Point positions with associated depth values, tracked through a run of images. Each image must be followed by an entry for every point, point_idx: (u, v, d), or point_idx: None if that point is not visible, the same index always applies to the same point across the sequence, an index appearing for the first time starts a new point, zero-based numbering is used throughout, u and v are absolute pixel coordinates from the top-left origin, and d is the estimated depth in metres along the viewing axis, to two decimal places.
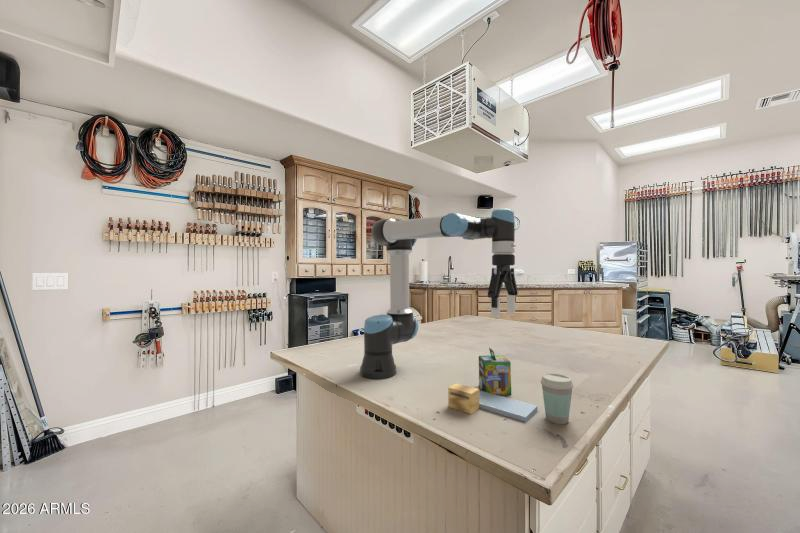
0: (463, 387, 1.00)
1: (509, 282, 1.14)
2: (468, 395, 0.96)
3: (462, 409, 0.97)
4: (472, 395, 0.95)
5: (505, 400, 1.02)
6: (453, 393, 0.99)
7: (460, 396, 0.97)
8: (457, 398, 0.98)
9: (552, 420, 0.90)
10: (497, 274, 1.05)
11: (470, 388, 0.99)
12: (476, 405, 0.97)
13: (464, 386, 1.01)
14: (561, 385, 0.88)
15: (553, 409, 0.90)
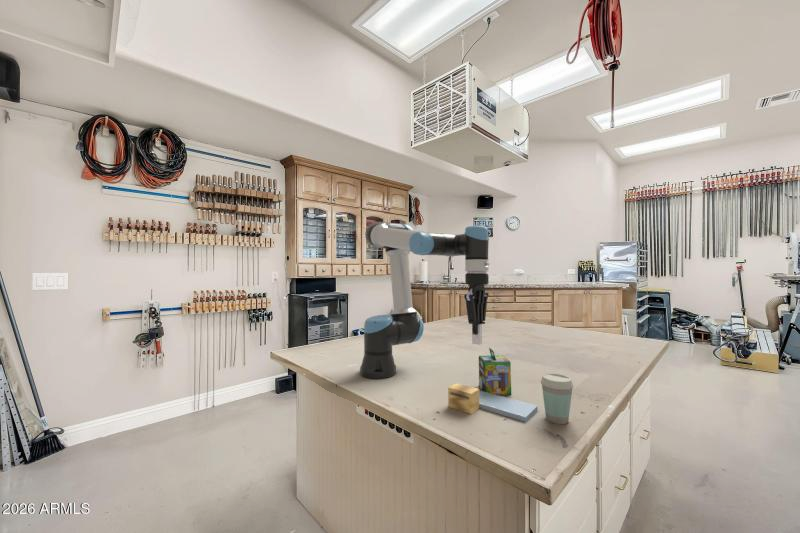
0: (463, 387, 1.00)
1: (480, 304, 1.07)
2: (468, 395, 0.96)
3: (462, 409, 0.97)
4: (472, 395, 0.95)
5: (505, 400, 1.02)
6: (453, 393, 0.99)
7: (460, 396, 0.97)
8: (457, 398, 0.98)
9: (552, 420, 0.90)
10: (471, 301, 1.02)
11: (470, 388, 0.99)
12: (476, 405, 0.97)
13: (464, 386, 1.01)
14: (561, 385, 0.88)
15: (553, 409, 0.90)
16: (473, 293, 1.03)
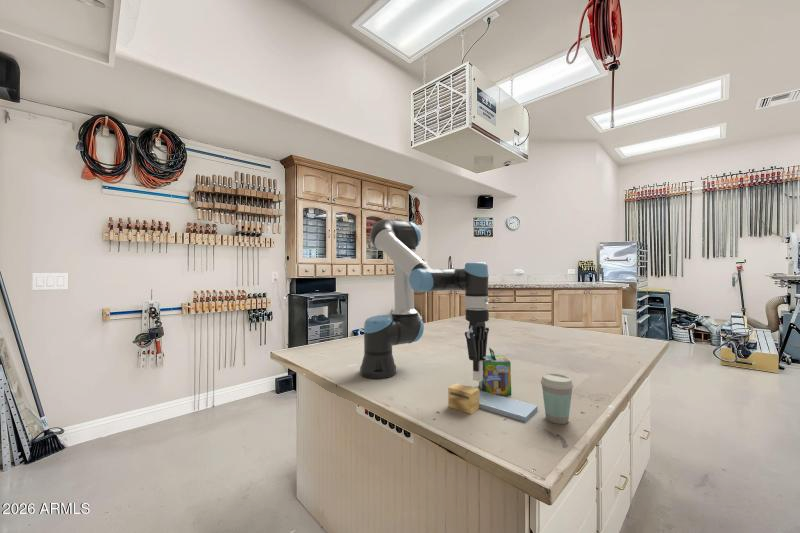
0: (463, 387, 1.00)
1: (480, 340, 1.06)
2: (468, 395, 0.96)
3: (462, 409, 0.97)
4: (472, 395, 0.95)
5: (505, 400, 1.02)
6: (453, 393, 0.99)
7: (460, 396, 0.97)
8: (457, 398, 0.98)
9: (552, 420, 0.90)
10: (471, 339, 1.02)
11: (470, 388, 0.99)
12: (476, 405, 0.97)
13: (464, 386, 1.01)
14: (561, 385, 0.88)
15: (553, 409, 0.90)
16: (473, 330, 1.03)
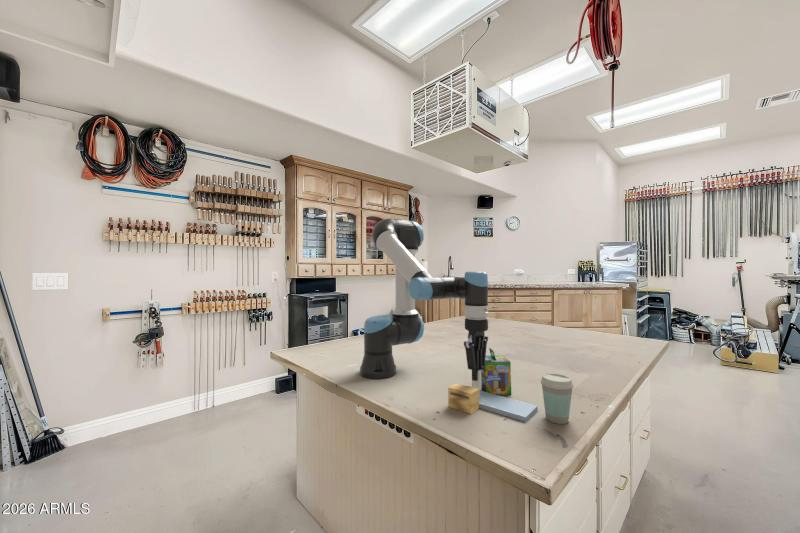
0: (463, 387, 1.00)
1: (479, 349, 1.06)
2: (468, 395, 0.96)
3: (462, 409, 0.97)
4: (472, 395, 0.95)
5: (505, 400, 1.02)
6: (453, 393, 0.99)
7: (460, 396, 0.97)
8: (457, 398, 0.98)
9: (552, 420, 0.90)
10: (471, 349, 1.01)
11: (470, 388, 0.99)
12: (476, 405, 0.97)
13: (464, 386, 1.01)
14: (561, 385, 0.88)
15: (553, 409, 0.90)
16: (473, 340, 1.03)
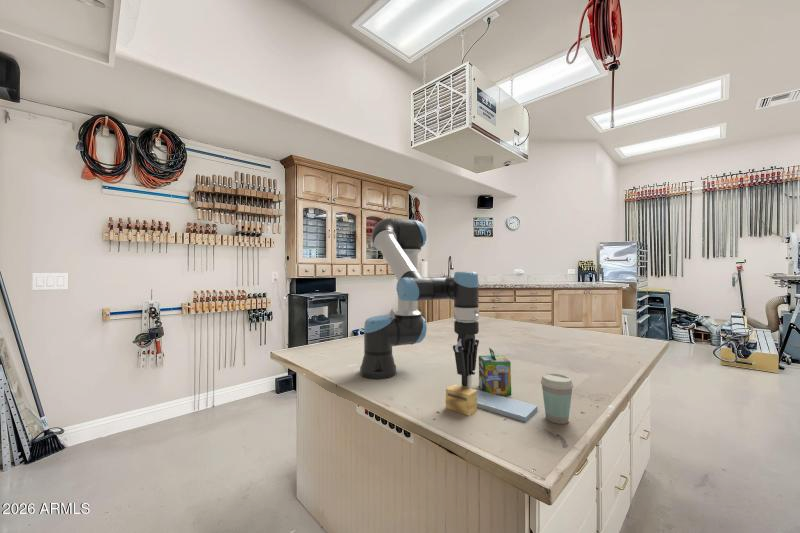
0: (461, 388, 0.99)
1: (469, 353, 1.01)
2: (465, 397, 0.95)
3: (460, 411, 0.96)
4: (469, 396, 0.94)
5: (505, 400, 1.02)
6: (451, 394, 0.98)
7: (457, 398, 0.96)
8: (455, 400, 0.97)
9: (552, 420, 0.90)
10: (460, 353, 0.96)
11: (468, 389, 0.98)
12: (474, 407, 0.96)
13: (462, 387, 1.00)
14: (561, 385, 0.88)
15: (553, 409, 0.90)
16: (462, 344, 0.98)
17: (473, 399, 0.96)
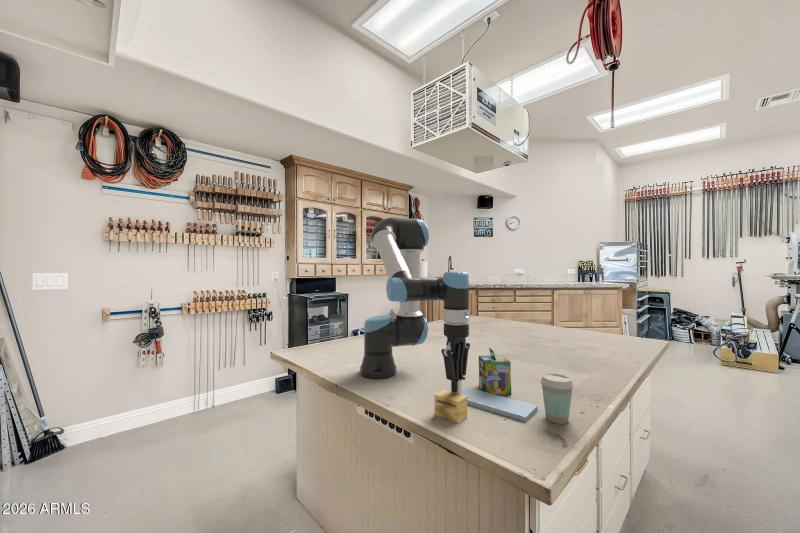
0: (450, 394, 0.94)
1: (459, 358, 0.96)
2: (454, 403, 0.90)
3: (449, 418, 0.91)
4: (459, 403, 0.90)
5: (505, 400, 1.02)
6: (440, 400, 0.93)
7: (446, 404, 0.92)
8: (444, 406, 0.92)
9: (552, 420, 0.90)
10: (449, 357, 0.92)
11: (457, 395, 0.94)
12: (463, 414, 0.92)
13: (451, 393, 0.95)
14: (561, 385, 0.88)
15: (553, 409, 0.90)
16: (451, 347, 0.93)
17: (463, 406, 0.91)
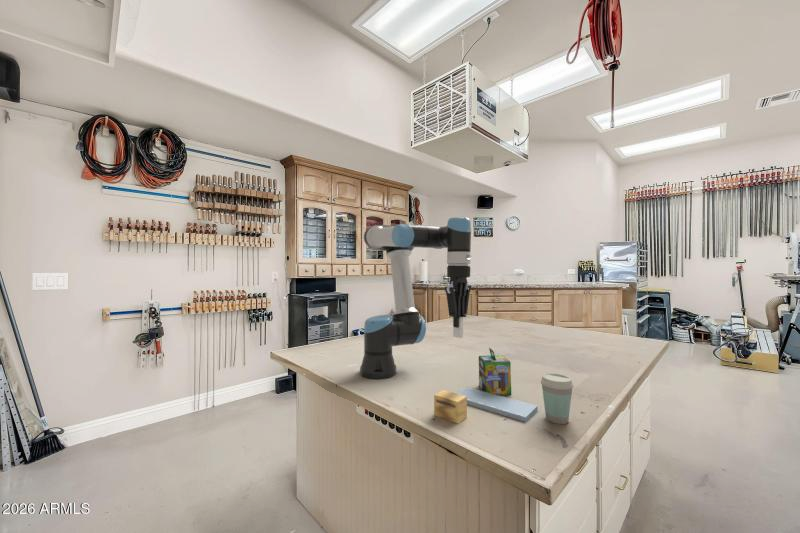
0: (450, 394, 0.94)
1: (461, 297, 1.05)
2: (454, 403, 0.90)
3: (448, 418, 0.91)
4: (458, 403, 0.89)
5: (505, 400, 1.02)
6: (439, 400, 0.93)
7: (446, 405, 0.91)
8: (444, 406, 0.92)
9: (552, 420, 0.90)
10: (451, 294, 1.01)
11: (457, 395, 0.93)
12: (463, 414, 0.91)
13: (451, 393, 0.95)
14: (561, 385, 0.88)
15: (553, 409, 0.90)
16: (454, 286, 1.02)
17: (462, 406, 0.91)
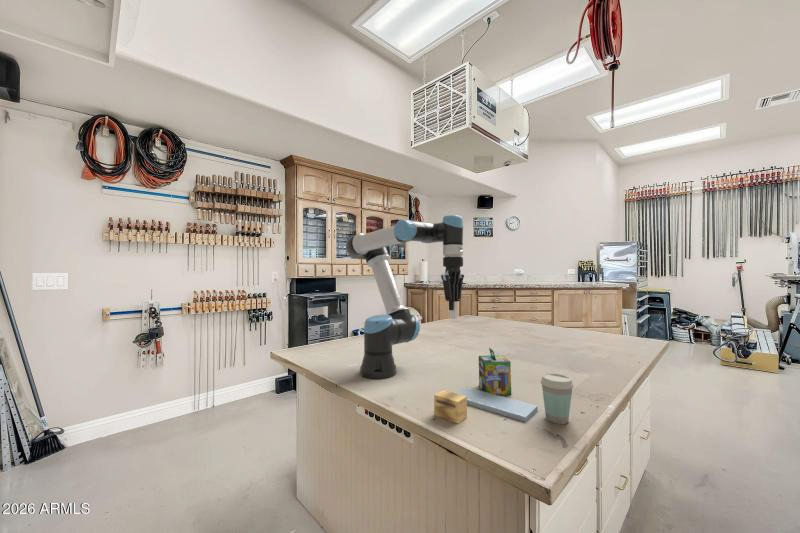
0: (450, 394, 0.94)
1: (455, 284, 1.22)
2: (454, 403, 0.90)
3: (448, 418, 0.91)
4: (458, 403, 0.89)
5: (505, 400, 1.02)
6: (439, 400, 0.93)
7: (446, 405, 0.91)
8: (444, 406, 0.92)
9: (552, 420, 0.90)
10: (447, 281, 1.17)
11: (457, 395, 0.93)
12: (463, 414, 0.91)
13: (451, 393, 0.95)
14: (561, 385, 0.88)
15: (553, 409, 0.90)
16: (449, 274, 1.18)
17: (462, 406, 0.91)
